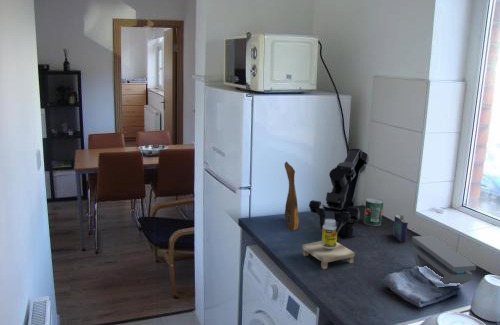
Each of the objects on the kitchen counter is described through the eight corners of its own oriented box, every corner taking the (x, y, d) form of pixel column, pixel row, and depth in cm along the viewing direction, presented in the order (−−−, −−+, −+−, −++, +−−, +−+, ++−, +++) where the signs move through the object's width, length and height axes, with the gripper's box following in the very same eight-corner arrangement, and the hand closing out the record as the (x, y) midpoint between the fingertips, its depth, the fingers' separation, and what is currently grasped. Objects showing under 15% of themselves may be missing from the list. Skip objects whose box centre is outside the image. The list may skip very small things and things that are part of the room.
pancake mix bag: (283, 232, 196) (287, 169, 189) (281, 216, 214) (284, 159, 208) (299, 232, 196) (303, 170, 189) (295, 217, 214) (299, 159, 208)
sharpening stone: (471, 296, 147) (476, 265, 144) (449, 298, 145) (454, 267, 143) (428, 262, 171) (431, 235, 168) (409, 263, 169) (412, 236, 167)
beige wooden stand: (301, 254, 174) (302, 244, 173) (331, 248, 180) (331, 239, 179) (323, 269, 162) (324, 259, 161) (354, 262, 168) (355, 252, 167)
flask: (391, 234, 197) (394, 211, 195) (397, 234, 198) (400, 211, 195) (401, 242, 188) (404, 218, 186) (408, 242, 189) (411, 218, 186)
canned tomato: (360, 221, 212) (362, 198, 210) (373, 219, 216) (375, 197, 213) (371, 226, 205) (373, 203, 203) (384, 224, 209) (387, 202, 206)
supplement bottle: (322, 249, 167) (324, 222, 165) (320, 243, 173) (321, 217, 170) (337, 249, 167) (339, 223, 165) (334, 243, 173) (336, 217, 171)
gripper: (311, 179, 172) (300, 216, 165) (361, 187, 164) (351, 225, 157) (316, 194, 181) (306, 229, 174) (363, 201, 173) (354, 238, 166)
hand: (328, 230), depth 167 cm, fingers closed on supplement bottle, 5 cm apart
